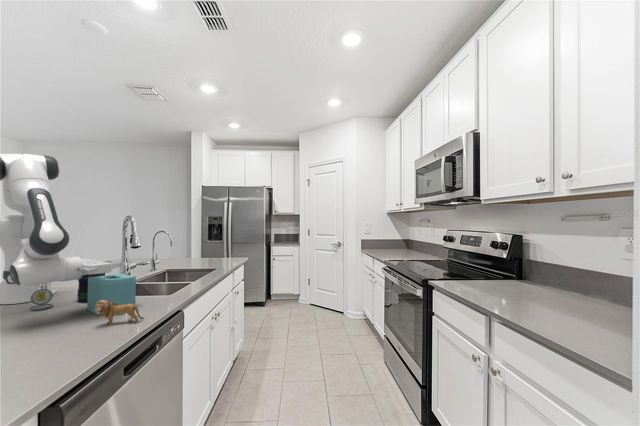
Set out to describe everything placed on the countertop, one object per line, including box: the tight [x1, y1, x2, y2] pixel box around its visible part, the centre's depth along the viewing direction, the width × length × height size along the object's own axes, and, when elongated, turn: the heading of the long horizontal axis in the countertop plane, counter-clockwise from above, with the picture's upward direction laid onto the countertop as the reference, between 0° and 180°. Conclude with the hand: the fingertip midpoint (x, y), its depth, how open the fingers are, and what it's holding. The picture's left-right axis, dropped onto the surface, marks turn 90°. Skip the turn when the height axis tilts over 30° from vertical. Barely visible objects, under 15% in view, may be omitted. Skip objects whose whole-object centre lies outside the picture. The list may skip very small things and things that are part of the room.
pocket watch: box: [30, 284, 54, 311], centre depth 118 cm, size 8×8×10 cm
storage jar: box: [76, 273, 106, 304], centre depth 130 cm, size 10×10×15 cm
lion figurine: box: [95, 300, 145, 327], centre depth 101 cm, size 15×5×9 cm, turn 118°
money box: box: [86, 272, 137, 316], centre depth 118 cm, size 14×12×13 cm
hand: (115, 263), depth 119 cm, fingers open, 8 cm apart
